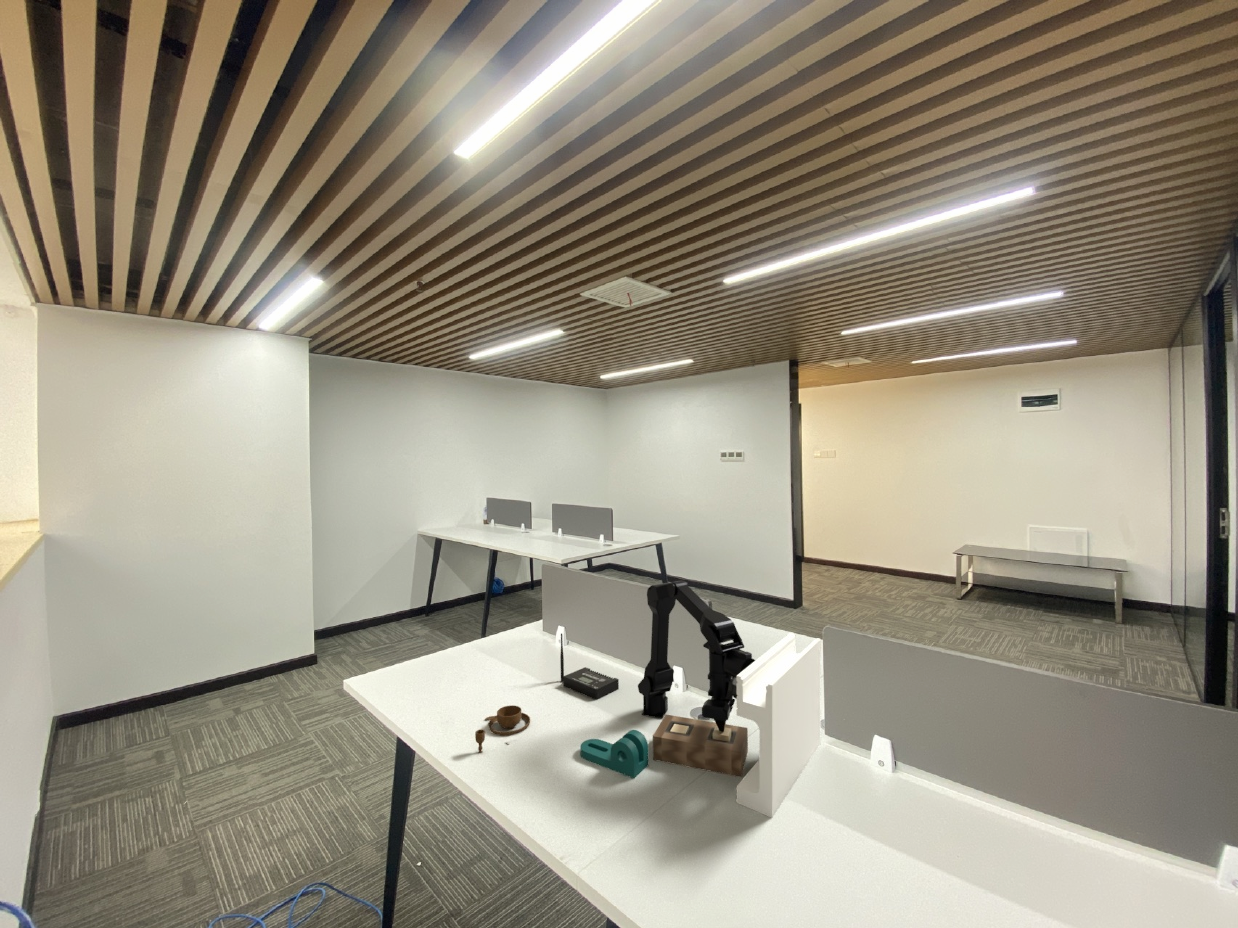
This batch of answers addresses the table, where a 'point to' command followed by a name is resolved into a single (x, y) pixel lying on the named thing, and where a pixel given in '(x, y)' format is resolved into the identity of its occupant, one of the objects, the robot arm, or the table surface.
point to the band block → (700, 746)
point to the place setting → (503, 723)
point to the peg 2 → (722, 734)
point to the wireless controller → (588, 681)
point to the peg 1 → (680, 729)
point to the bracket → (619, 753)
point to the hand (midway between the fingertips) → (721, 730)
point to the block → (780, 720)
